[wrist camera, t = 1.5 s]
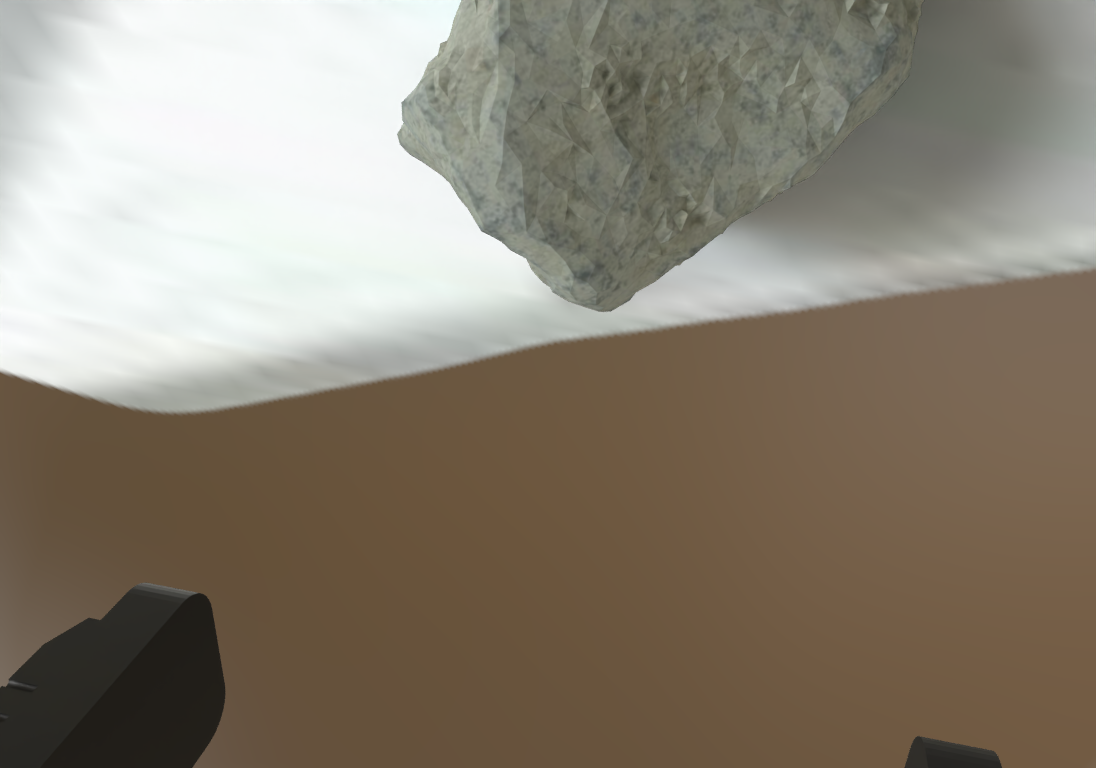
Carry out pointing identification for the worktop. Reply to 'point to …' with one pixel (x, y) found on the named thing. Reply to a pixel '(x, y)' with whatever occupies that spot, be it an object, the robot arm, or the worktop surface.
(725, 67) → the decorative stone
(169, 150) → the worktop surface
